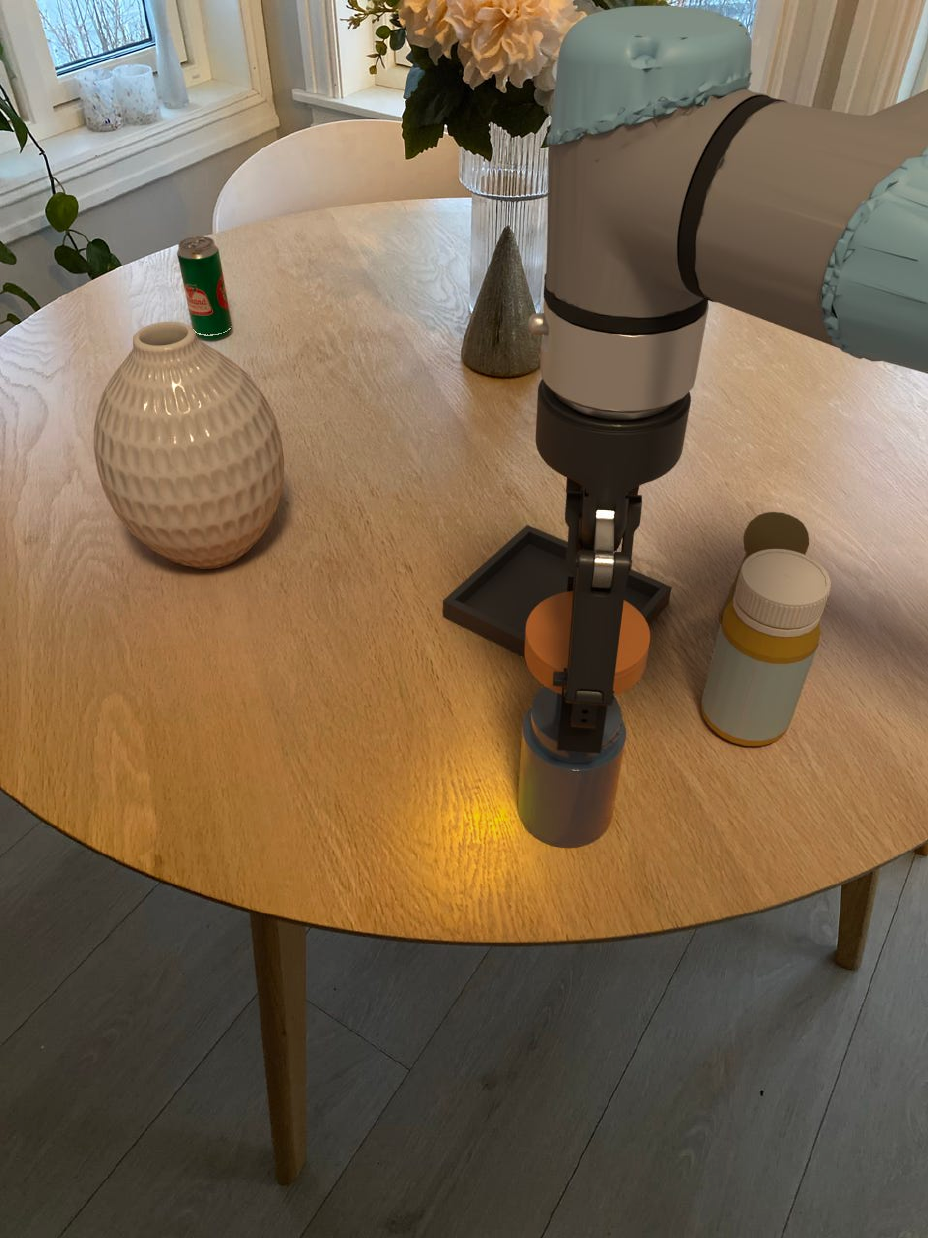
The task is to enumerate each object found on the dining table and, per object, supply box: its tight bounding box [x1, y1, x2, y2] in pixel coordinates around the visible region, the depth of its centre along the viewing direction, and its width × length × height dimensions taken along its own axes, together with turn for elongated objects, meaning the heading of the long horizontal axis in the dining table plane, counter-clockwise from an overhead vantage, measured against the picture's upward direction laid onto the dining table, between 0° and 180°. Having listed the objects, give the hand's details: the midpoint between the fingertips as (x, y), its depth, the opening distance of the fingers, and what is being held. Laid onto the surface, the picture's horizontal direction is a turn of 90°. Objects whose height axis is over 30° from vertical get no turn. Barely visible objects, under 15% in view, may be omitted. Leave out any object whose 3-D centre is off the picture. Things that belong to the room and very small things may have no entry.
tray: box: [442, 524, 673, 659], centre depth 86 cm, size 16×14×2 cm
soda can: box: [176, 235, 233, 342], centre depth 122 cm, size 5×5×12 cm
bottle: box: [700, 549, 832, 747], centre depth 72 cm, size 7×7×15 cm
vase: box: [93, 321, 285, 570], centre depth 86 cm, size 16×16×22 cm
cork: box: [718, 511, 810, 625], centre depth 82 cm, size 6×6×11 cm
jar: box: [517, 685, 627, 849], centre depth 67 cm, size 7×7×11 cm
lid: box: [524, 591, 651, 697], centre depth 59 cm, size 8×8×2 cm
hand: (580, 697), depth 62 cm, fingers closed on lid, 7 cm apart
